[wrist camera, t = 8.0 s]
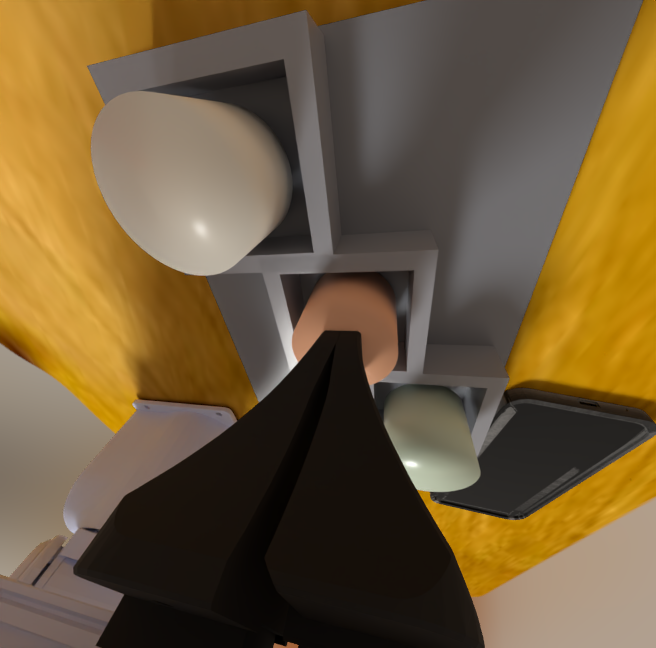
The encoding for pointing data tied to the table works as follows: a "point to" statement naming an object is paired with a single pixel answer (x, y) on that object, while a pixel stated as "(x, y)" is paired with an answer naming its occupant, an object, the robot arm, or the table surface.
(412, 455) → the pale green rounded block
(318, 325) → the terracotta key
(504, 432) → the phone
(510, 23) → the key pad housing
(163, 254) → the ivory key
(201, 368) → the table surface
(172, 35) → the table surface
